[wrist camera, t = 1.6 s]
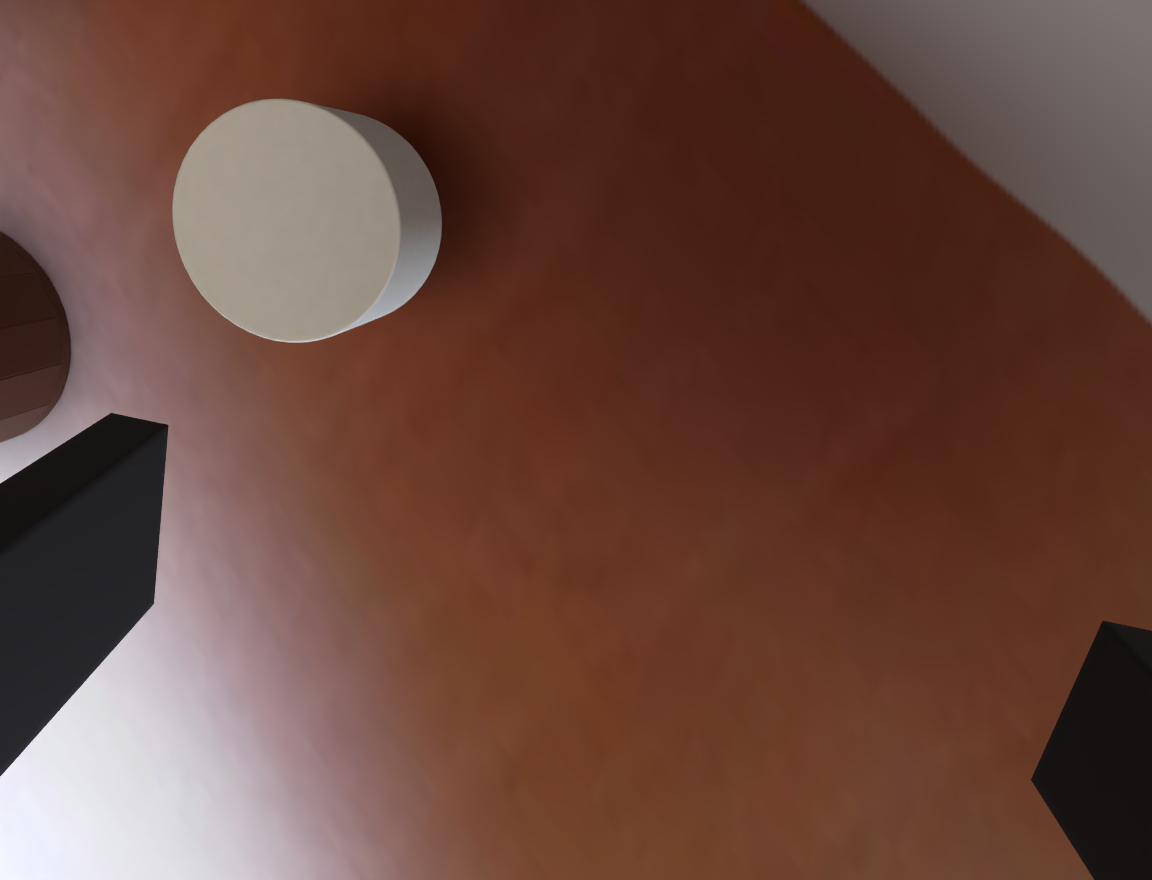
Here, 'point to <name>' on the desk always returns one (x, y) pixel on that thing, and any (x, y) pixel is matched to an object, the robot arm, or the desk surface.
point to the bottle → (29, 342)
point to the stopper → (304, 219)
